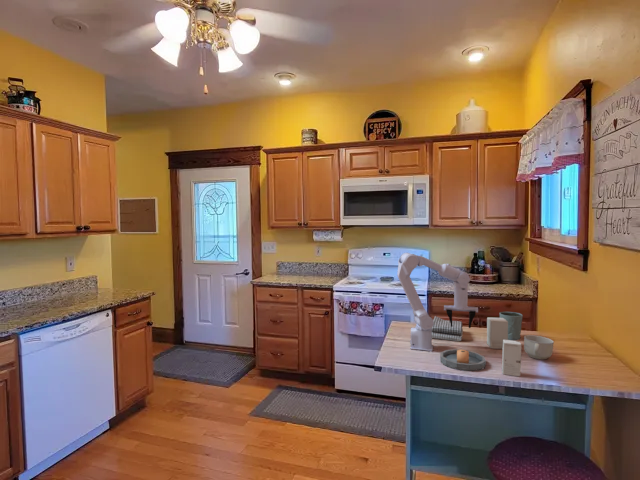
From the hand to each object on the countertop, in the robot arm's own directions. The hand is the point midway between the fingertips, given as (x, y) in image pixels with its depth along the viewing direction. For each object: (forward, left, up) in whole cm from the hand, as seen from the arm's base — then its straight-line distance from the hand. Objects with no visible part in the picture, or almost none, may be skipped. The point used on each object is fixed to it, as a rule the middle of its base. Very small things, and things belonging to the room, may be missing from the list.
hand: (460, 326), depth 169 cm
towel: (-6, +17, -10) cm, 21 cm away
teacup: (+30, -5, -10) cm, 32 cm away
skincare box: (+17, -26, -10) cm, 33 cm away
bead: (0, -25, -8) cm, 26 cm away
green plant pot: (+24, +22, -10) cm, 34 cm away
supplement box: (+16, +6, -10) cm, 20 cm away
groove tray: (0, -20, -9) cm, 22 cm away
